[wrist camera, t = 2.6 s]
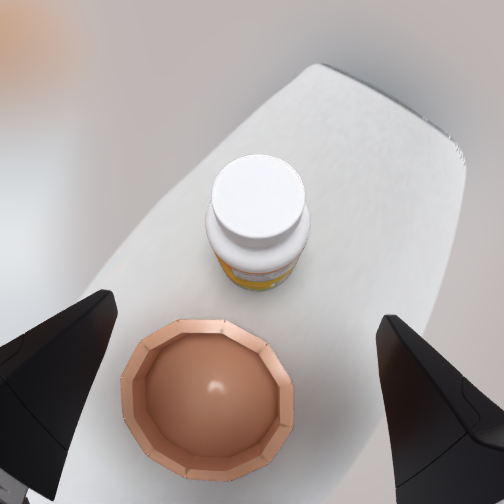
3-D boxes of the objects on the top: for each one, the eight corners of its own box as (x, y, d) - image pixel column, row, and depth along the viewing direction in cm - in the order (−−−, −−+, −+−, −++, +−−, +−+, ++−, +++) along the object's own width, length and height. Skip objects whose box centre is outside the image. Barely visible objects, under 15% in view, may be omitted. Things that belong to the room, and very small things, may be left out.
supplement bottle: (224, 217, 23) (203, 138, 13) (296, 222, 22) (320, 145, 13) (216, 288, 21) (184, 250, 12) (293, 294, 21) (322, 260, 12)
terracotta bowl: (316, 419, 18) (325, 432, 15) (189, 480, 17) (179, 499, 14) (237, 294, 21) (233, 286, 18) (115, 363, 20) (94, 365, 17)
